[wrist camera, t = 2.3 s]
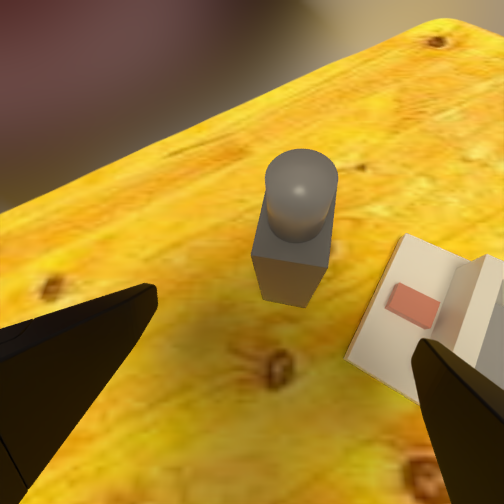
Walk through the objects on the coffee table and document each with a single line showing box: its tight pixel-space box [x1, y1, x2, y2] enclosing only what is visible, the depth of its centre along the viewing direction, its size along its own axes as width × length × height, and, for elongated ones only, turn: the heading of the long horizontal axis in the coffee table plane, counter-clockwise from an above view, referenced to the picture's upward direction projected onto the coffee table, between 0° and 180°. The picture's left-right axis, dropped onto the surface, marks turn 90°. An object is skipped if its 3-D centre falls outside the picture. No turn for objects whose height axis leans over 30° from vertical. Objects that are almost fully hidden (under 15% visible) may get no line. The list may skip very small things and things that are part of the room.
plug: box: [251, 149, 338, 308], centre depth 15 cm, size 4×3×13 cm
